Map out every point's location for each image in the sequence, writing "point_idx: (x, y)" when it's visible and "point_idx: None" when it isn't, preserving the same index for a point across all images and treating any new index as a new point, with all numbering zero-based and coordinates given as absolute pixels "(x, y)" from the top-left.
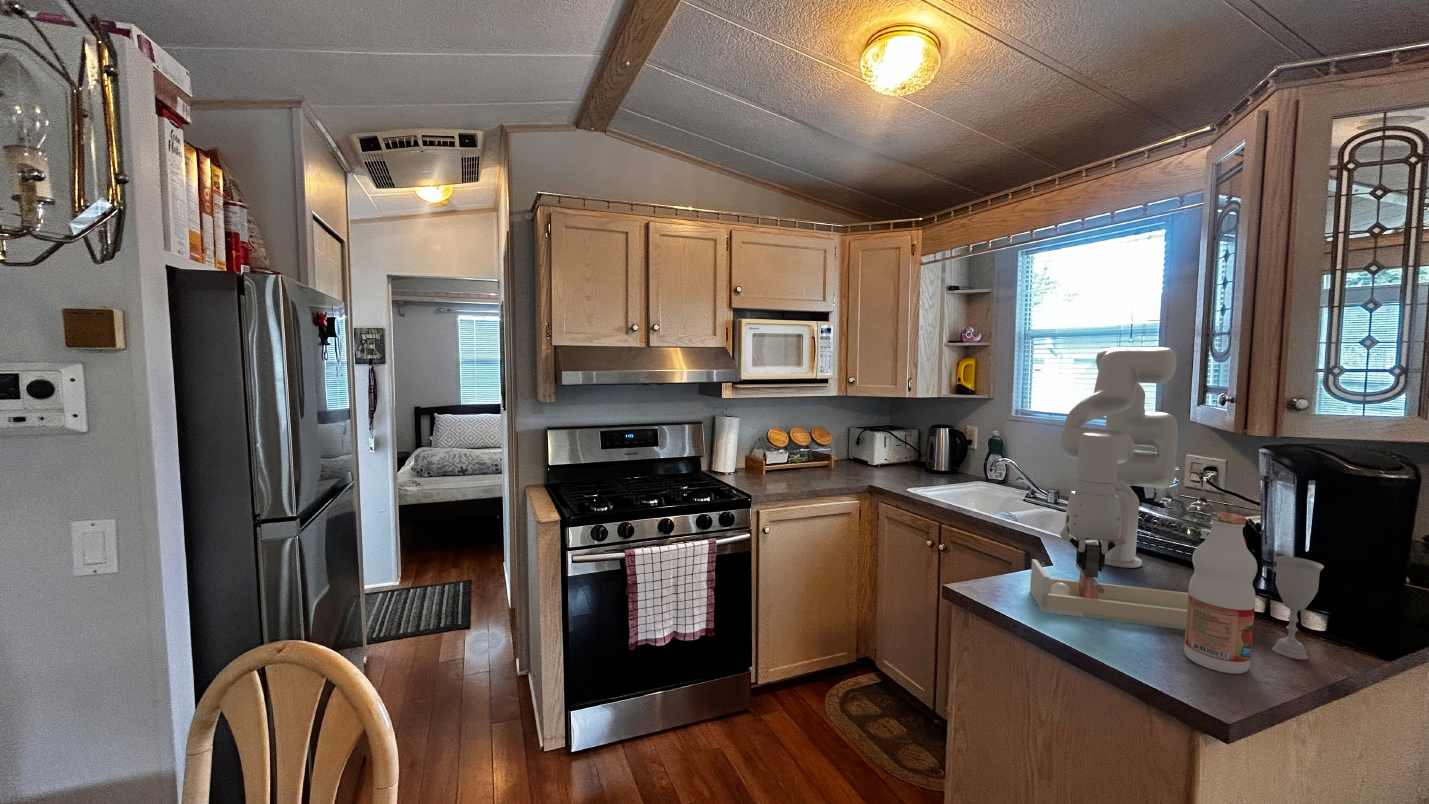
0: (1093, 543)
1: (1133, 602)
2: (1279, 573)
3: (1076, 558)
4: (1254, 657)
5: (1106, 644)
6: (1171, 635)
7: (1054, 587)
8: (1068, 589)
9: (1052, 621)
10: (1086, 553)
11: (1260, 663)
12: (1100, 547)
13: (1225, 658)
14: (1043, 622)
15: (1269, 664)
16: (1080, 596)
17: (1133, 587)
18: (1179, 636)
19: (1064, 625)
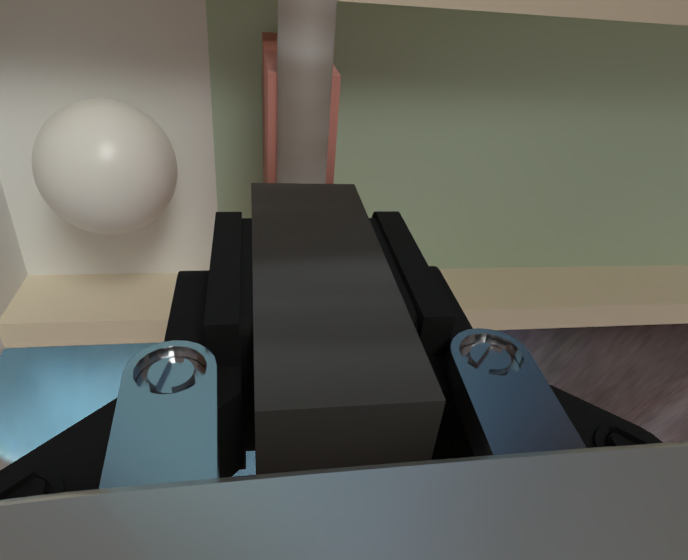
0: (402, 427)
1: (592, 41)
2: None
3: (175, 298)
4: (679, 404)
5: (245, 473)
6: (528, 338)
7: (48, 204)
8: (148, 219)
9: (66, 369)
10: (252, 450)
11: (660, 432)
12: (461, 434)
13: None
14: (24, 391)
15: (680, 429)
16: (262, 85)
17: (676, 3)
18: (554, 337)
19: (117, 389)
